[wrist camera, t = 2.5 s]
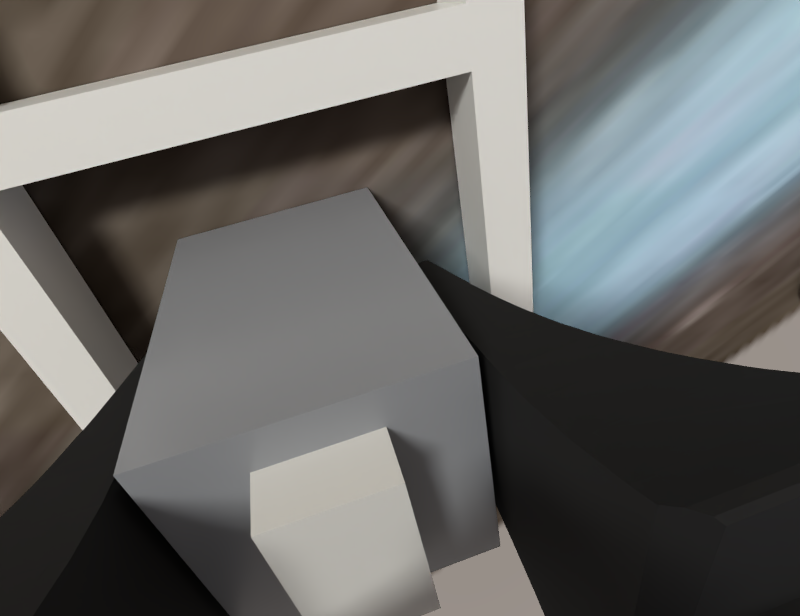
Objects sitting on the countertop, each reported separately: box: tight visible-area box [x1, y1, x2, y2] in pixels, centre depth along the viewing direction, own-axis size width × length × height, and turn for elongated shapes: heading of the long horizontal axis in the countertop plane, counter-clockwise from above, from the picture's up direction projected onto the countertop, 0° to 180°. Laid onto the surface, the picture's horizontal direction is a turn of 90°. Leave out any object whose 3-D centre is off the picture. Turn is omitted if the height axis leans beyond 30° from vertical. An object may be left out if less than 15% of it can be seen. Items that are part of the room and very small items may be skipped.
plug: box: [113, 188, 500, 616], centre depth 8 cm, size 4×4×7 cm
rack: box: [0, 0, 533, 430], centre depth 8 cm, size 10×19×1 cm, turn 11°
